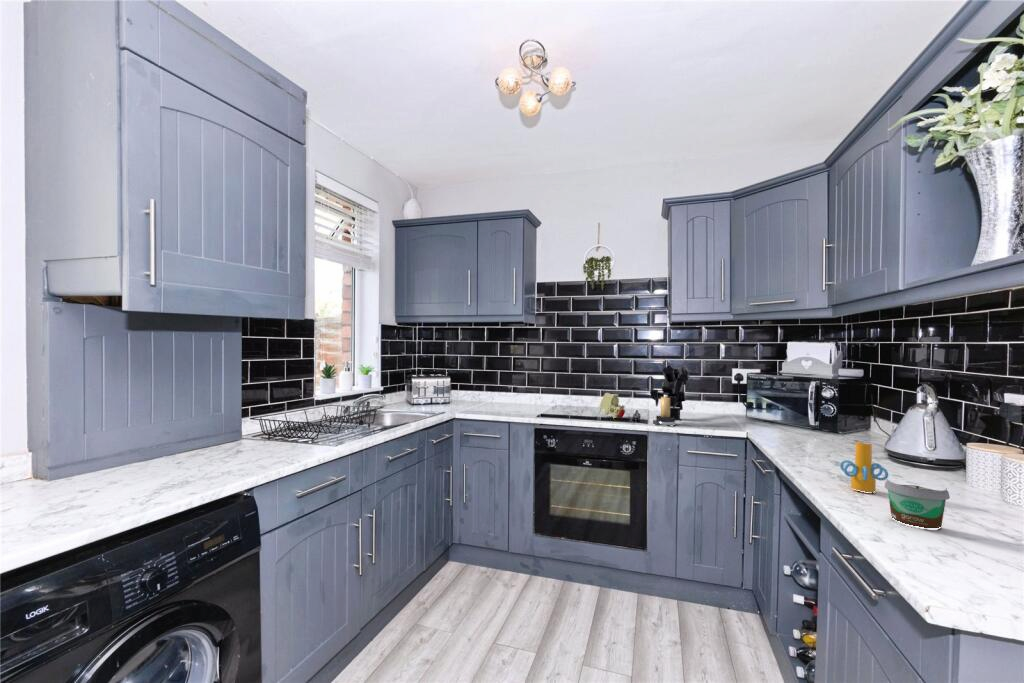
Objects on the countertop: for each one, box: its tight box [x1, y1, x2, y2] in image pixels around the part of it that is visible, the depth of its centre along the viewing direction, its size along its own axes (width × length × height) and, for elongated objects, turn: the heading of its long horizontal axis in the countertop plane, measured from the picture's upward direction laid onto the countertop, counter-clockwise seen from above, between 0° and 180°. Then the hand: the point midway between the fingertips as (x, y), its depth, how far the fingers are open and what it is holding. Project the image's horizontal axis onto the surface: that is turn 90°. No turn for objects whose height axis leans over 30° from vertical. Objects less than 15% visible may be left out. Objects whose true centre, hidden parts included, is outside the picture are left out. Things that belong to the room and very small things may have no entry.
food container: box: [883, 478, 951, 528], centre depth 110 cm, size 12×6×10 cm, turn 52°
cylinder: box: [839, 440, 889, 492], centre depth 136 cm, size 12×10×15 cm
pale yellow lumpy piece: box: [597, 392, 626, 419], centre depth 266 cm, size 8×17×20 cm, turn 53°
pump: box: [660, 395, 670, 417], centre depth 246 cm, size 5×5×15 cm
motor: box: [652, 415, 676, 426], centre depth 246 cm, size 12×10×4 cm
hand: (664, 406), depth 245 cm, fingers open, 9 cm apart
